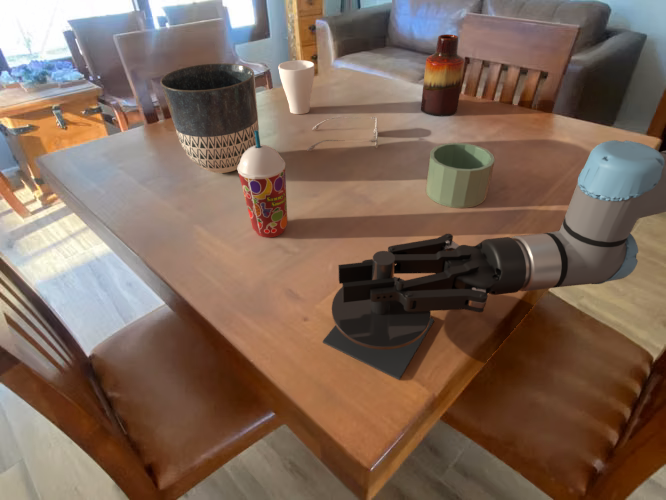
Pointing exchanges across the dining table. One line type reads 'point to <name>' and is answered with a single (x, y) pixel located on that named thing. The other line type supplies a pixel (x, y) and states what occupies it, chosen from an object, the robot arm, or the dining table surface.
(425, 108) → the vase
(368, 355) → the mat
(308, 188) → the dining table surface
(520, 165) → the dining table surface
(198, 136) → the planter
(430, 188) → the pot
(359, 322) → the lid
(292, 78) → the cup
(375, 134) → the eyeglasses
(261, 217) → the smoothie
